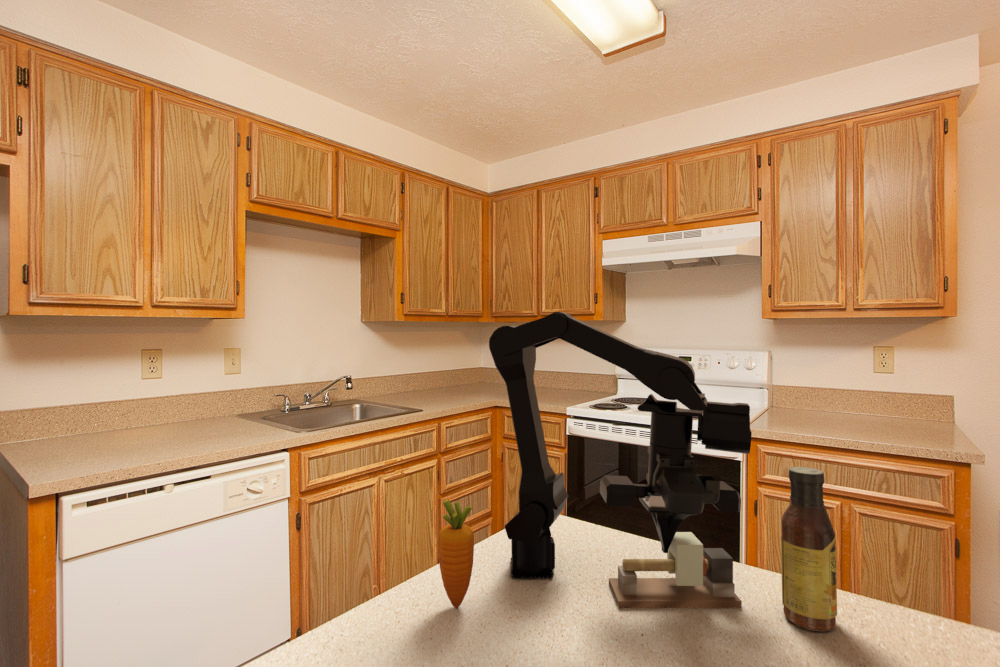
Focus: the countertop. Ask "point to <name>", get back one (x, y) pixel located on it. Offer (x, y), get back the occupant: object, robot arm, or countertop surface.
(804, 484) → the sauce bottle
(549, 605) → the countertop surface
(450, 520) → the carrot
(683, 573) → the cream block
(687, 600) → the cable stand
